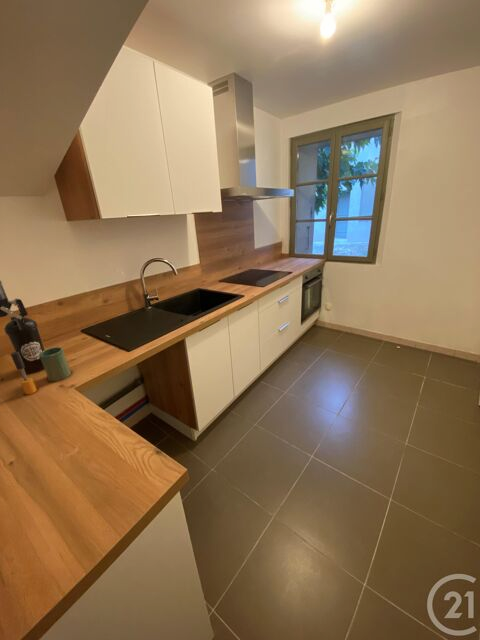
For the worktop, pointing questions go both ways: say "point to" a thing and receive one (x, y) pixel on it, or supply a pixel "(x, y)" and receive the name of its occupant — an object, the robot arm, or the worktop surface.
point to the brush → (23, 374)
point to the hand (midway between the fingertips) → (6, 334)
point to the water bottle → (26, 343)
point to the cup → (55, 363)
